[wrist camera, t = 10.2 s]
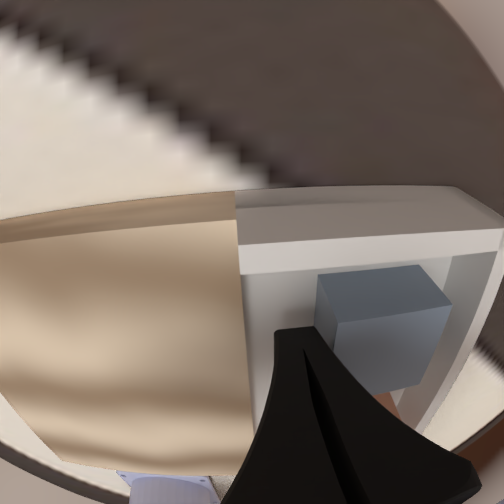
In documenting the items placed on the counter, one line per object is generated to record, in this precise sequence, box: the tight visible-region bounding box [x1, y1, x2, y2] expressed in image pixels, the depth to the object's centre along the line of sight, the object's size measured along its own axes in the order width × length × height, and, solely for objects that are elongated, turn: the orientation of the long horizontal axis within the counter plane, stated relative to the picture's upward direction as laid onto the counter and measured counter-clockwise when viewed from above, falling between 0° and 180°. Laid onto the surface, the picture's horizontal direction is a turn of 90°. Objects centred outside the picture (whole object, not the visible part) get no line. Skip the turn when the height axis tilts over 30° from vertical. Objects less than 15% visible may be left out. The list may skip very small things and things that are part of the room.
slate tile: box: [313, 265, 453, 396], centre depth 11 cm, size 4×4×2 cm
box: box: [235, 185, 504, 436], centre depth 14 cm, size 17×9×4 cm, turn 3°
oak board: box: [0, 191, 254, 476], centre depth 14 cm, size 17×14×2 cm
